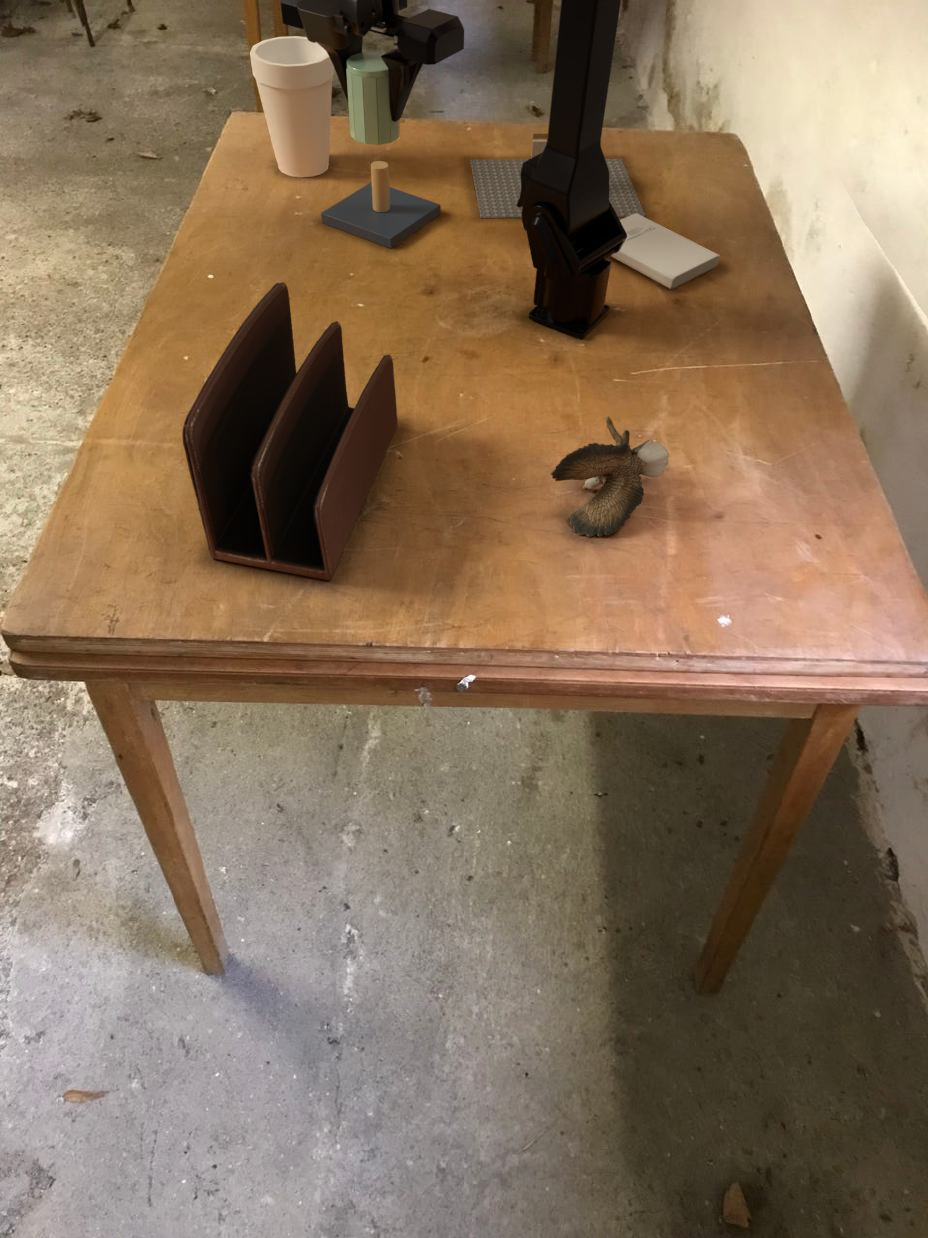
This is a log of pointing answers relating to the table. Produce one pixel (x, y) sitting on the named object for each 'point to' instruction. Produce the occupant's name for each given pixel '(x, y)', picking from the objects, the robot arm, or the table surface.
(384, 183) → the cup stand
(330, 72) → the foam cup
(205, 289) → the table surface
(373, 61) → the mint canister
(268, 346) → the letter holder
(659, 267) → the hard drive
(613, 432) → the eagle figurine
